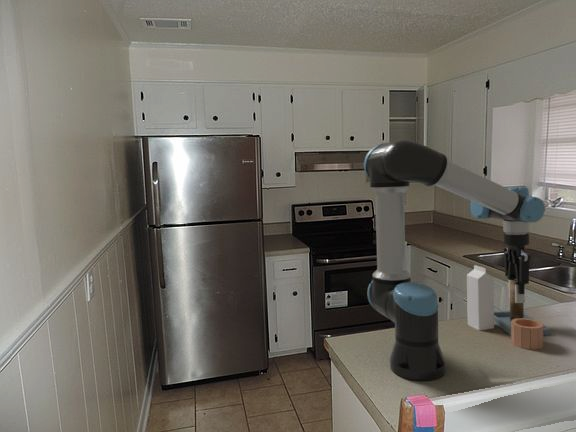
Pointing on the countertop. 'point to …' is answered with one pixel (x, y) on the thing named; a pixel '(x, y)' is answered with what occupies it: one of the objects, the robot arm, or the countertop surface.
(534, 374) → the countertop surface
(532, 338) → the cup
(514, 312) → the baguette
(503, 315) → the tray
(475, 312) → the milk
